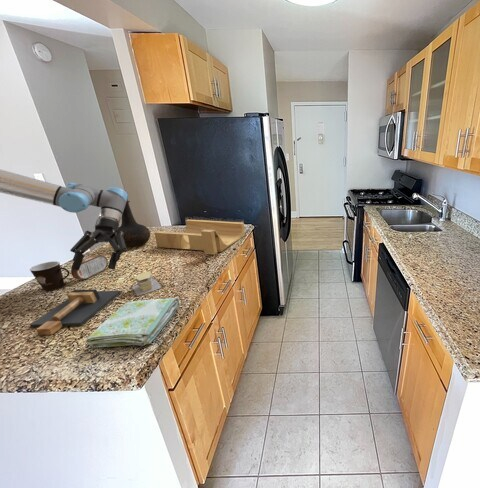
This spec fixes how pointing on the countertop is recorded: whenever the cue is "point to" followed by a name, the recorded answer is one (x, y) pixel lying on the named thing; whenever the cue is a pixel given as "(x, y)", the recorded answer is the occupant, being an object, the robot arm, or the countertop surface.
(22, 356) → the countertop surface
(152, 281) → the stacked layers on plate
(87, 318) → the serving tray
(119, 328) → the towel
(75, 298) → the scrub brush
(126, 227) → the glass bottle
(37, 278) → the coffee mug
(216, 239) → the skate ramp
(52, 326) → the wooden square block
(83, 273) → the tin
